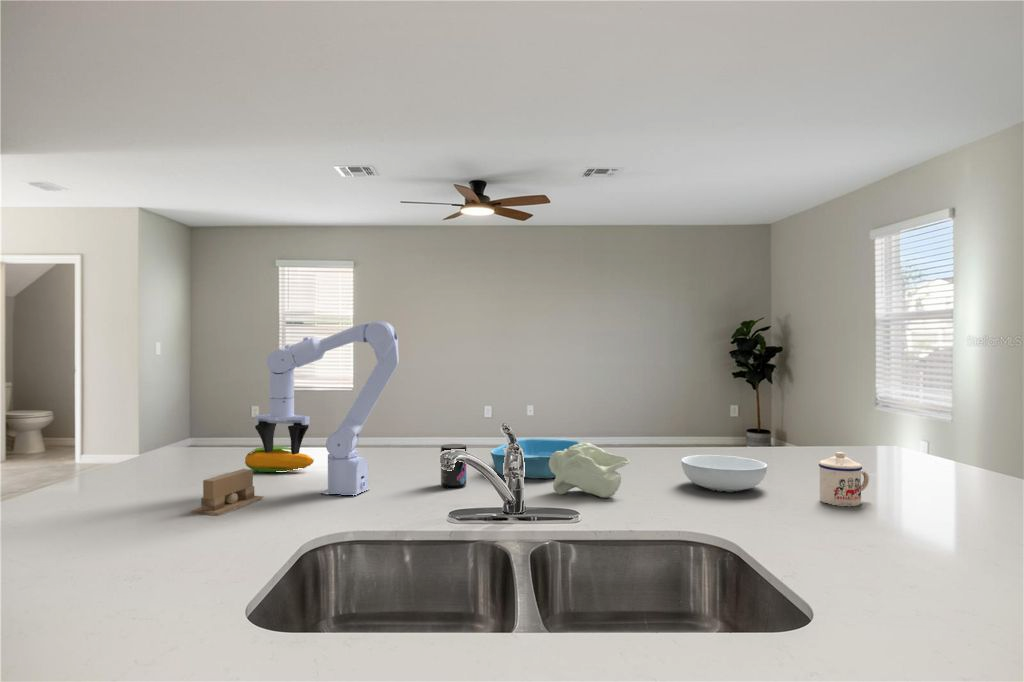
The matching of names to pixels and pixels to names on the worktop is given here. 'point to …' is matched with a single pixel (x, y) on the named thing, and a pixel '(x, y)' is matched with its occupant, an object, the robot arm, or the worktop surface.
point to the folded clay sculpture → (586, 470)
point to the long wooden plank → (227, 483)
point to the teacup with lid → (841, 481)
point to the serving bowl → (724, 472)
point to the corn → (276, 460)
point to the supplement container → (457, 475)
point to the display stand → (227, 502)
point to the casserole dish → (534, 455)
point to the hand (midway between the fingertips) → (282, 452)
